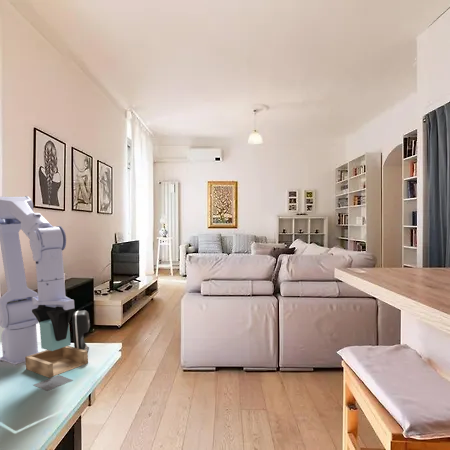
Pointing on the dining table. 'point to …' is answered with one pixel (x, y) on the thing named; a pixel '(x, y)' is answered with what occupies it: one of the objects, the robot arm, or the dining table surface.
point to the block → (51, 337)
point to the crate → (56, 361)
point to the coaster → (53, 382)
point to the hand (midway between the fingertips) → (55, 338)
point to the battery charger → (80, 328)
